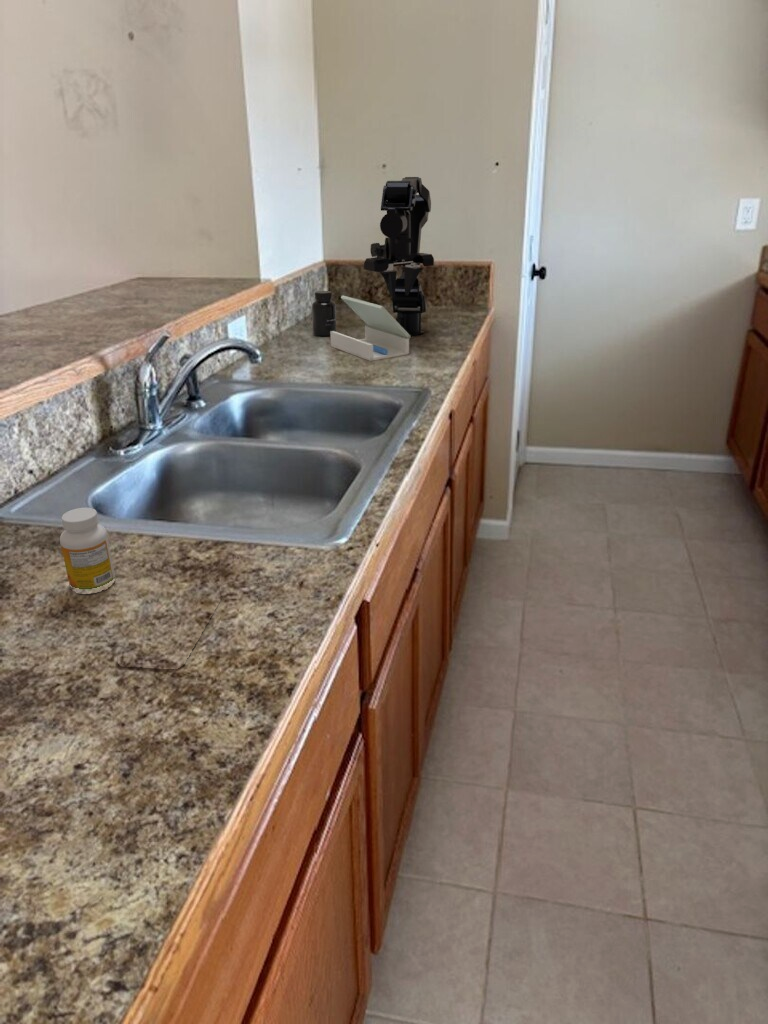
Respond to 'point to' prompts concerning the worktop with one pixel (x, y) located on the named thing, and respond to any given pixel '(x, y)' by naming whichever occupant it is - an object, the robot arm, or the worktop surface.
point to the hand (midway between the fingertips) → (399, 296)
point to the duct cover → (375, 316)
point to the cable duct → (372, 344)
